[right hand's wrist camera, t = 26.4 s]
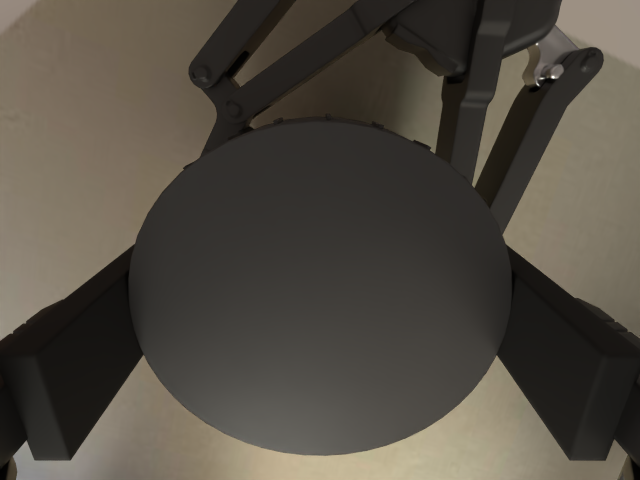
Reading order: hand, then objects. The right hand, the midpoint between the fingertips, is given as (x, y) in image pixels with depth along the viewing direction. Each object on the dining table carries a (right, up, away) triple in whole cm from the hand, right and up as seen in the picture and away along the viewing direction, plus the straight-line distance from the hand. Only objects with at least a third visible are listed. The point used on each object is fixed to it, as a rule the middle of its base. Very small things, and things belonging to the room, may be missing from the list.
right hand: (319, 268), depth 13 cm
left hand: (-2, -1, +7) cm, 8 cm away
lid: (0, -1, -3) cm, 3 cm away
